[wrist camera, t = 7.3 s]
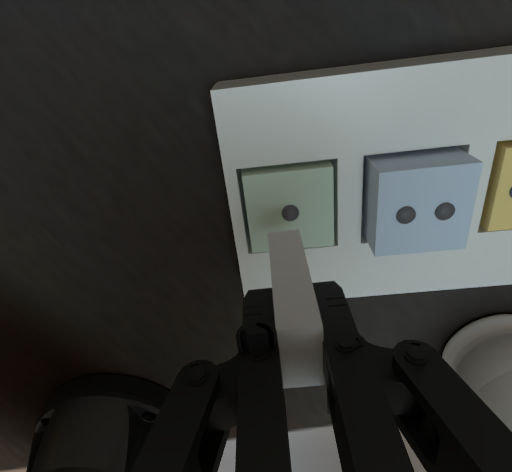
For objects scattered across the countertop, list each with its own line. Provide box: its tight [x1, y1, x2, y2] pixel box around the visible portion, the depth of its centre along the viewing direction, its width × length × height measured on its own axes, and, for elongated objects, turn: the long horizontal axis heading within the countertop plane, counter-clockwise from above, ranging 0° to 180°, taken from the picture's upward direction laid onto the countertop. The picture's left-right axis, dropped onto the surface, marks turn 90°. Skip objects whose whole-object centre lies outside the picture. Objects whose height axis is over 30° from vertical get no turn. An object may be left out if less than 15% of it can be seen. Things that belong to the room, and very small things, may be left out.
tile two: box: [362, 146, 483, 257], centre depth 20 cm, size 5×5×3 cm
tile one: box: [242, 159, 334, 253], centre depth 22 cm, size 5×5×3 cm
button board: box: [210, 46, 512, 298], centre depth 22 cm, size 21×14×4 cm, turn 97°
